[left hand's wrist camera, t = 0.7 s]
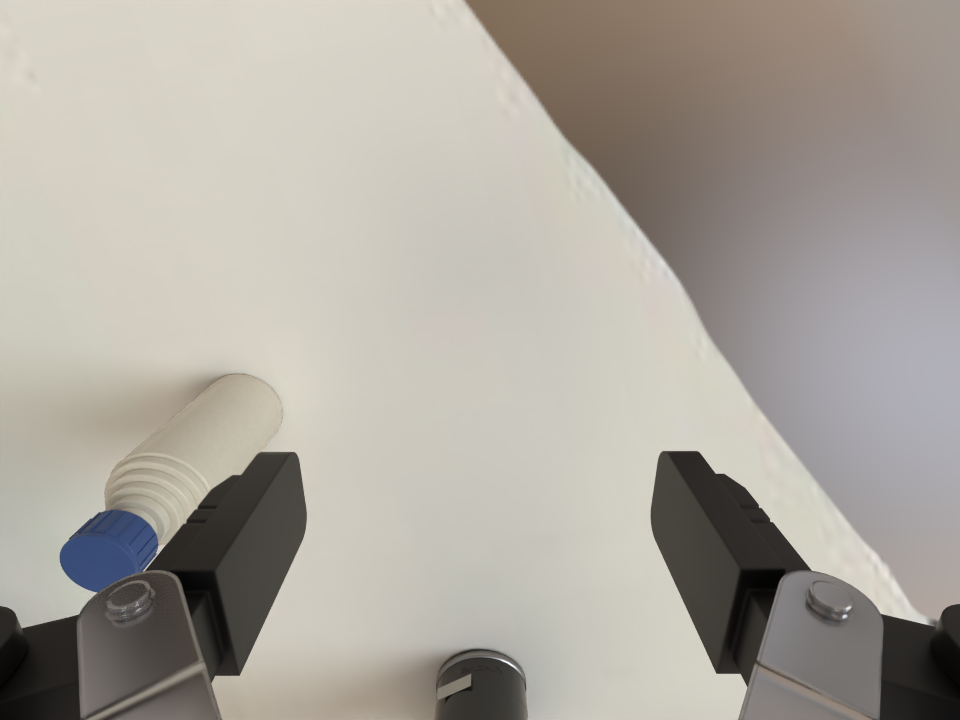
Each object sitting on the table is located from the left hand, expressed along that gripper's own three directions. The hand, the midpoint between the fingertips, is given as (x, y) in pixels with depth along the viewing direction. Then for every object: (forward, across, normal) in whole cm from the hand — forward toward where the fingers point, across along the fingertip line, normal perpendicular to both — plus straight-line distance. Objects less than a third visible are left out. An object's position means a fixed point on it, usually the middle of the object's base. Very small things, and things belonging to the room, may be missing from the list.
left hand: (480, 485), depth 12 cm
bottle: (+29, -20, -13) cm, 38 cm away
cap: (+12, -20, -13) cm, 26 cm away
